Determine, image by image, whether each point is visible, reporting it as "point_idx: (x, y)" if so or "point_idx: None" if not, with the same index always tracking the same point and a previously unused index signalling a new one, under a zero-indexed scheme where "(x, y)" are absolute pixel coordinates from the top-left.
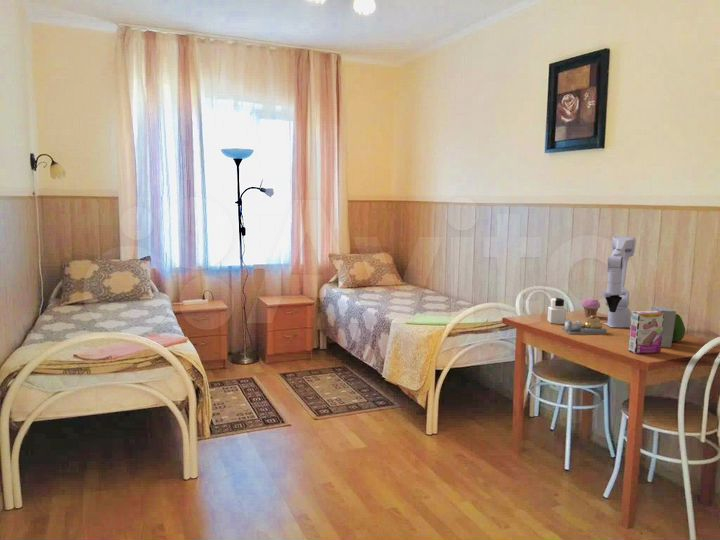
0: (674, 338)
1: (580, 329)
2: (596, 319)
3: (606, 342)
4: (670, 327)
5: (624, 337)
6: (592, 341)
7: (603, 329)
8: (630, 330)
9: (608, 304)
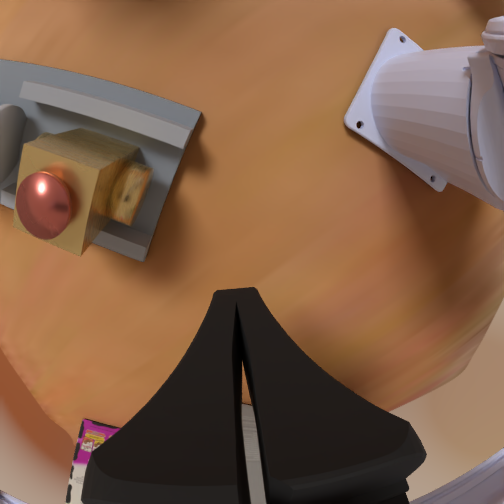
0: None
1: (7, 176)
2: (56, 242)
3: (57, 349)
4: None
5: (197, 331)
6: (13, 318)
7: (121, 253)
8: (71, 473)
9: (183, 364)
